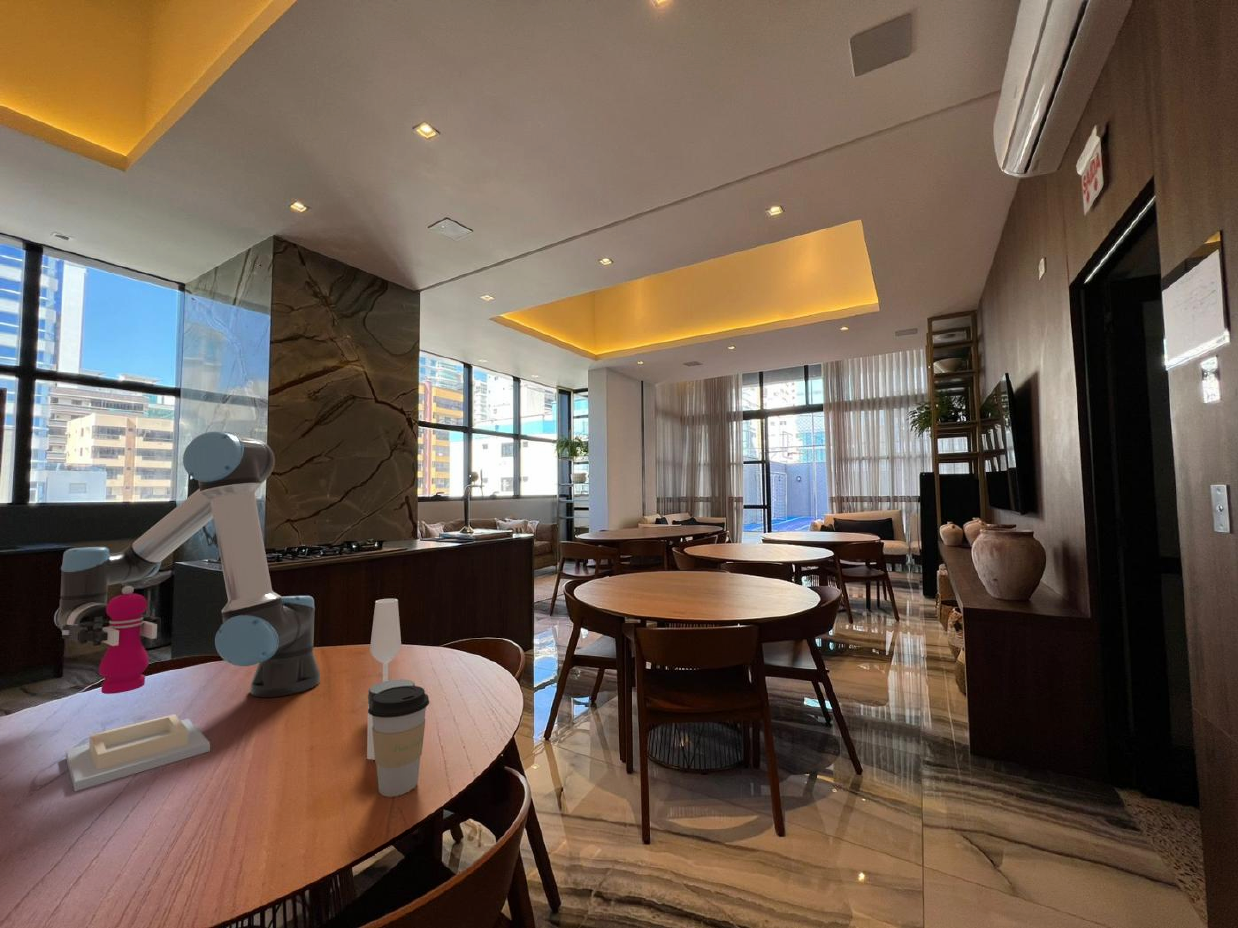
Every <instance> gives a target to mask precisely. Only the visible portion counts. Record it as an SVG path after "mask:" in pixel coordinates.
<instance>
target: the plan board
mask: <svg viewBox="0 0 1238 928" xmlns="http://www.w3.org/2000/svg"><path fill="white" fill-rule="evenodd" d="M210 751H211V742H210V741H209V740H208V739H207V737H205V735H204V734H203V733H202V732H201V731H200V730H199V729H198V728H197V726H196V725H195V724H194V723H193V722H192V721H191V720H190V719H189V718H186V719H182V720H181V719H180V718H179V717H177V715H176V714H170V715H166V716H162V717H157V718H154V719H149V720H146V721H141V722H137V723H134V724H129V725H128V724H127V725H125V726H121V727H117V728H116V727H115V728H113V729H109V730H105V731H100V732H96V733H92V734H90V735H89V743H88V744H82V745H80V746H77V747H72V748H68V749H66V753H65V759H66V763H67V766H68V771H69V775H70V778H71V782H72V785H73V790H74V792H78V791H80V790H84V789H88V788H91V787H94V786H98V785H102V784H104V783H108V782H111V781H114V780H118V779H122V778H124V777H128V776H131V775H135V774H137V773H141V772H145V771H148V770H152V769H155V768H158V767H162V766H164V765H168V764H171V763H175V762H178V761H181V760H185V759H189V758H192V757H195V756H198V755H201V754H205V753H207V752H208V753H209V752H210Z"/></svg>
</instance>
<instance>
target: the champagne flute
mask: <svg viewBox="0 0 1238 928" xmlns="http://www.w3.org/2000/svg"><path fill="white" fill-rule="evenodd" d="M373 613H374V614H373V620H372V621H373V622H372V630H371V638H370V646H369V651H370V654H371V656H373V658H374V659H375V660H376V661H378V662H379V663H381V664H382V682H385V681H389V663H390V662H391V661H393V660H394V659H395V657H397V655H398V654H399V653H400V651H401V649H402V641H401V640H402V637H401V626H400V624H401V623H400V616H399V615H400V613H399V600H398V599H397V598H383V599H378V600H375V604H374V612H373Z"/></svg>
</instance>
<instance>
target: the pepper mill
mask: <svg viewBox="0 0 1238 928" xmlns="http://www.w3.org/2000/svg"><path fill="white" fill-rule="evenodd" d="M134 590H135V589H134V587H133V586H131V585H126V586H124V587H122V589H121V592H122V593H121V594H120V595H119V594H118V595H117V596H116V595H115V596H114V597H113V598H111V599H110V600H109V602H108V603H107V608H106V612H107V615H108V616H109V617H111V619H112V620H111V621H109V623H110V626H109V627H110V628H113V629H116V630H119V645H116V646H112V645H108V647H107V650H106V652H105V654H104V656H102V659H101V661H100V664H99V667H98V673H99V675H100V676H101V677H102V678H103V679H104V681H102V683H101V693H102V694H106V695H110V694H112V695H113V694H120V693H126V692H131V691H134V690H137V689H139V688H142V687H143V686H145V685H146V675H144V674H142V673H143V672H144V671H145V670H146V669H147V668H148V666H149V664H150V659H149V654H148V652H147V650H146V648H145V647H144V645H143V643H142V639H141V635H140V625H141V624H143V622H142V621H143V620H142V619H143V617H141V615H142V614H144V613H145V612H146V610H147V608H148V601H147V599H146V597H145V596H144V595H142V594H138V593H134Z"/></svg>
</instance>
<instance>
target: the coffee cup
mask: <svg viewBox="0 0 1238 928" xmlns="http://www.w3.org/2000/svg"><path fill="white" fill-rule="evenodd" d="M429 704H430V700H429V695H428V694H426V692H425V689H424V688H423V687H421V686H418V685H415V686H399V687H393V688H389V689H386V690H383V691H381V692H379V693H377V694H376V695H375V696H374V698H373V701H372V702H371V703H370V705H369V704H368V707H369V709H368V708H367V714H368V713H369V714H370V715H372V719H373V727H372V732H373V743H374V754H375V761H374V763H375V764H376V774H377V775H376V776H377V783H378V784H377V786H378V793H379V794H380V795H381V796H383V797H389V798H390V797H391V798H392V797H393V796H395V797H399V796H398V795H400V796H403V795H405V794H404V793H406V792H408V791H410V790H411V789H412V788H414V787H415V786H416V785H417V786H418V781H419V772H420V764H421V756H422V754H423V746H424V738H425V737H424V736H425V728H426V713H427V712H426V709H427V707H428V706H429ZM417 786H416V787H417ZM416 787H415V788H416ZM415 788H414V789H415ZM411 791H412V790H411ZM411 791H410V792H411ZM408 793H409V792H408ZM402 794H403V795H402ZM406 794H407V793H406ZM393 798H394V797H393Z"/></svg>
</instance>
